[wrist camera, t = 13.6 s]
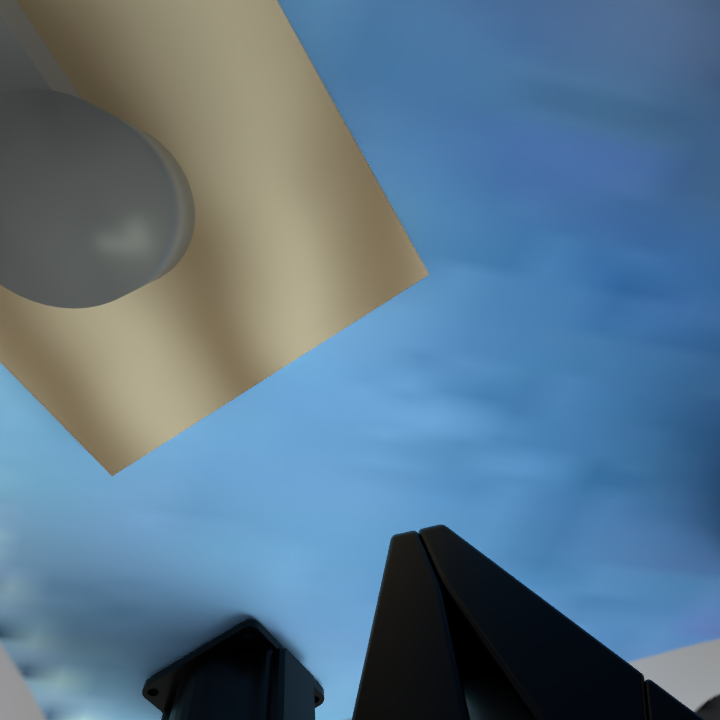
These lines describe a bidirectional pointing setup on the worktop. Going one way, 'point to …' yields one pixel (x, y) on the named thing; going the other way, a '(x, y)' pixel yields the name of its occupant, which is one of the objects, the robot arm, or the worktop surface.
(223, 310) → the stud base
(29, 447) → the worktop surface
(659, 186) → the worktop surface
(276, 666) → the robot arm
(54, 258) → the grey elongated piece
